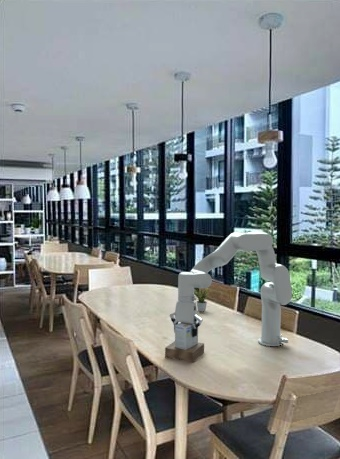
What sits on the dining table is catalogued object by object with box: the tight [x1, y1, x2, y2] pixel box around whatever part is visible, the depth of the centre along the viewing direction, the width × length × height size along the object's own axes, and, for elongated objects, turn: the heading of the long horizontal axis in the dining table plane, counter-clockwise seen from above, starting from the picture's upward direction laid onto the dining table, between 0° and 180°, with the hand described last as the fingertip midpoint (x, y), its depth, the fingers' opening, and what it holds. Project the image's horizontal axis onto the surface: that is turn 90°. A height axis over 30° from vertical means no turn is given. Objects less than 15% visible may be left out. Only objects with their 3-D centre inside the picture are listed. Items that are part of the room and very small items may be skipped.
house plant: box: [194, 287, 213, 312], centre depth 262 cm, size 14×14×16 cm
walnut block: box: [164, 340, 205, 364], centre depth 182 cm, size 14×14×5 cm
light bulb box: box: [174, 321, 199, 350], centre depth 182 cm, size 11×7×11 cm, turn 144°
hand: (185, 334), depth 182 cm, fingers open, 9 cm apart
